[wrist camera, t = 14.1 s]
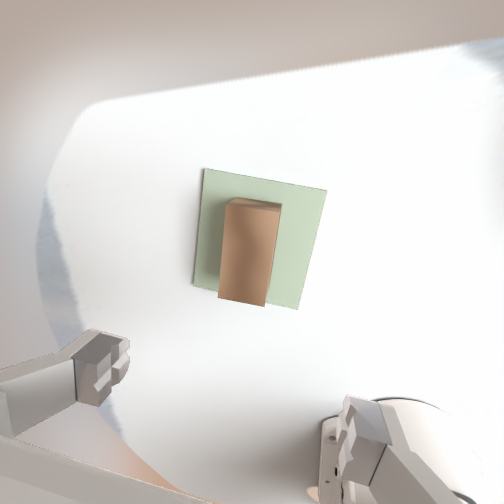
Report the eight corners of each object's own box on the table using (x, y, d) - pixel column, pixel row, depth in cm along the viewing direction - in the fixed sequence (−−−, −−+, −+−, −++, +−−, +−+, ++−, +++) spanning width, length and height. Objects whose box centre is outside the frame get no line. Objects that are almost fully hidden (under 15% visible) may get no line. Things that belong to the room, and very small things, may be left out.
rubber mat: (297, 307, 31) (297, 309, 31) (195, 283, 33) (193, 286, 32) (326, 190, 27) (327, 191, 26) (206, 168, 28) (204, 168, 28)
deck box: (282, 203, 27) (279, 212, 23) (269, 286, 31) (264, 306, 26) (237, 196, 28) (226, 204, 24) (229, 278, 31) (217, 297, 27)
